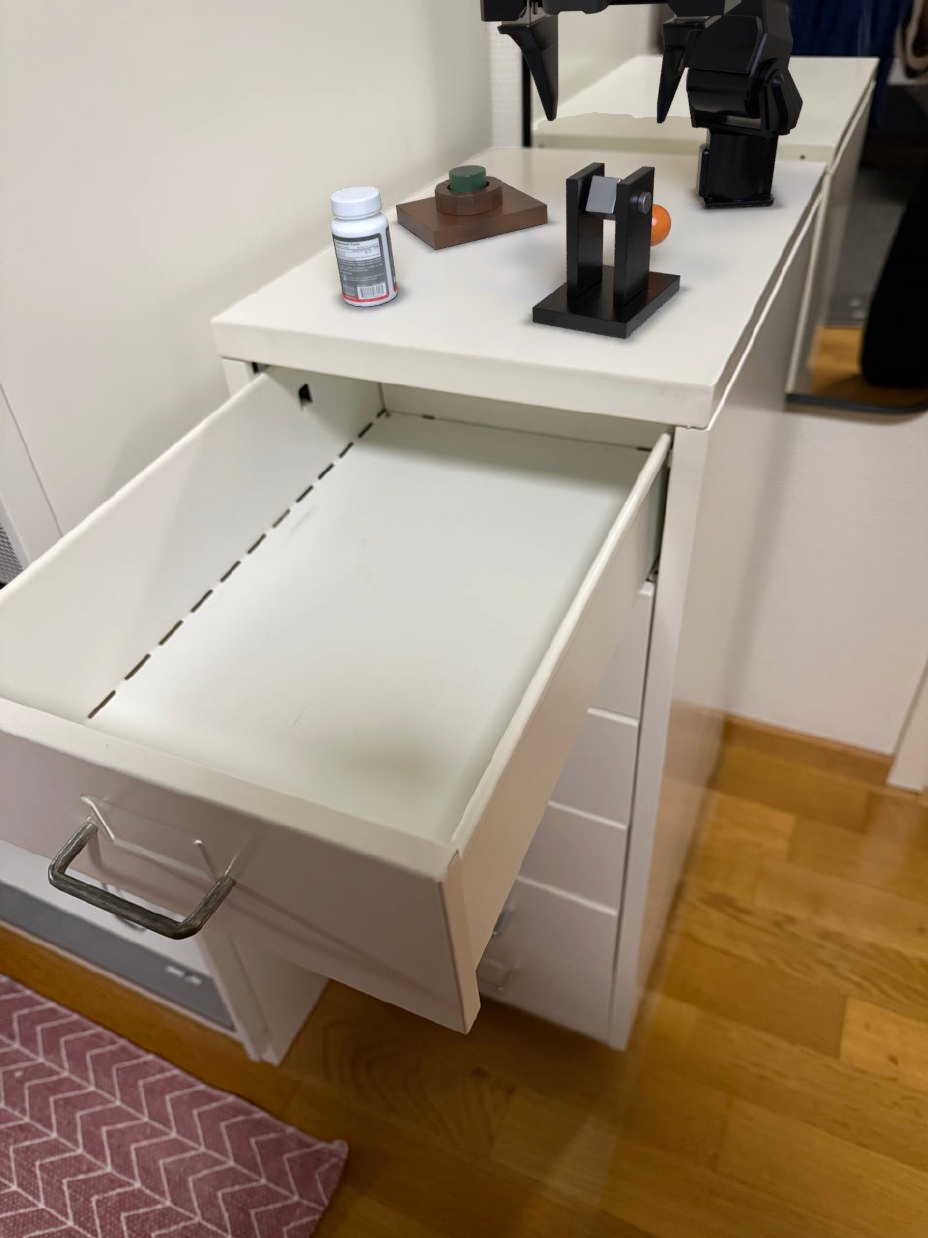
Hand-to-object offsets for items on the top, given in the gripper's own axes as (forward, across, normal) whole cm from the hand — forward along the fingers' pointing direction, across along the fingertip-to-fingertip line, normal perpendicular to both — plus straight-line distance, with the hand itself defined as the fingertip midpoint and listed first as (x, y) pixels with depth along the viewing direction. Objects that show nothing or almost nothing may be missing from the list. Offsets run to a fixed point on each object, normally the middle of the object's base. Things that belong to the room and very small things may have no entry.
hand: (605, 121), depth 71 cm
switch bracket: (+11, +4, -10) cm, 15 cm away
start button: (+8, -16, +6) cm, 19 cm away
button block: (+11, -16, +6) cm, 20 cm away
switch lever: (+6, +4, -7) cm, 10 cm away
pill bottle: (+11, -16, -13) cm, 24 cm away
